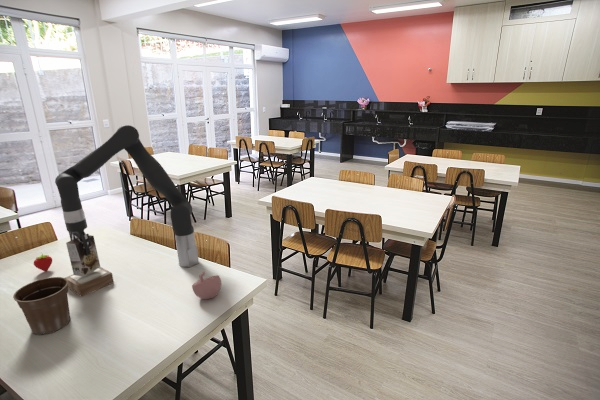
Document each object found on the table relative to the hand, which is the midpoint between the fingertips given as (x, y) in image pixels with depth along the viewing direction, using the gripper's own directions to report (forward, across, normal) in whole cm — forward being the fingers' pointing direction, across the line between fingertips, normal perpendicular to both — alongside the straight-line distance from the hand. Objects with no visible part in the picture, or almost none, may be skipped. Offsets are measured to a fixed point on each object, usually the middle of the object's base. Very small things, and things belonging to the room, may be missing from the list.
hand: (83, 252), depth 148 cm
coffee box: (+10, 0, 0) cm, 10 cm away
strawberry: (+17, +33, +6) cm, 37 cm away
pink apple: (+17, -54, -23) cm, 61 cm away
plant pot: (+17, -17, +22) cm, 32 cm away
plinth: (+16, 0, 0) cm, 16 cm away
